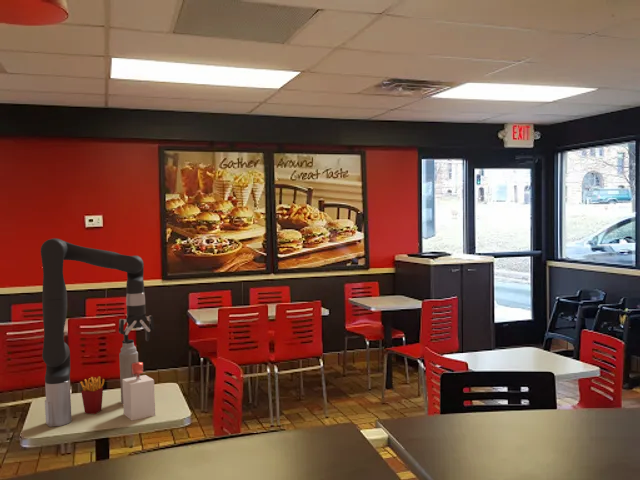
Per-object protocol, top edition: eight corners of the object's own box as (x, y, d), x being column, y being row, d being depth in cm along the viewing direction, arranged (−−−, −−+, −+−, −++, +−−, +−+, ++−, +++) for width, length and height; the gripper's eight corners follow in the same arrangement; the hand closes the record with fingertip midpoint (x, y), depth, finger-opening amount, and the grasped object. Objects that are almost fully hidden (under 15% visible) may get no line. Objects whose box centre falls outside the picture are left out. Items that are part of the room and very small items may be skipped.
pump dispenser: (131, 420, 246) (130, 384, 245) (123, 414, 254) (122, 379, 253) (155, 415, 252) (154, 379, 251) (146, 409, 260) (145, 374, 259)
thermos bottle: (143, 400, 272) (141, 339, 270) (128, 405, 265) (125, 342, 264) (132, 397, 277) (130, 337, 275) (117, 402, 270) (115, 340, 269)
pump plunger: (135, 412, 250) (134, 365, 249) (132, 410, 254) (130, 363, 253) (146, 410, 253) (144, 363, 252) (142, 407, 256) (140, 361, 255)
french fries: (95, 414, 254) (94, 379, 254) (78, 414, 256) (76, 379, 255) (107, 408, 263) (105, 374, 262) (90, 407, 265) (88, 373, 264)
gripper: (121, 306, 244) (123, 346, 244) (155, 302, 252) (156, 341, 253) (115, 304, 250) (117, 343, 250) (149, 300, 258) (150, 338, 259)
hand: (137, 342), depth 252 cm, fingers open, 8 cm apart
